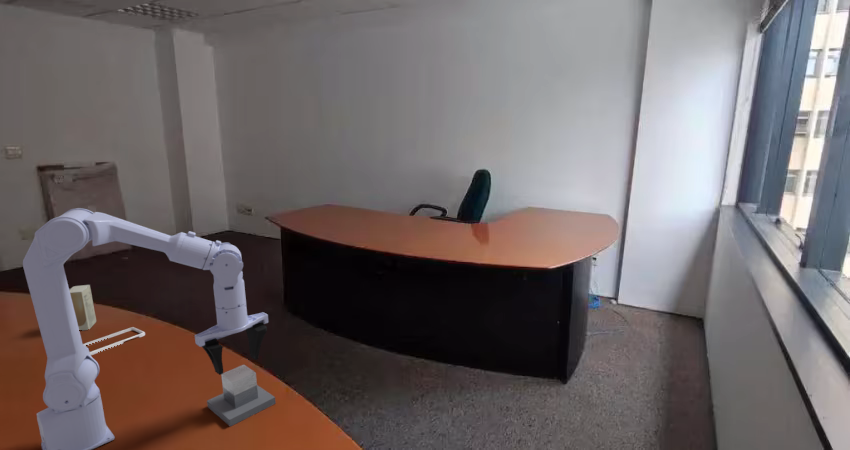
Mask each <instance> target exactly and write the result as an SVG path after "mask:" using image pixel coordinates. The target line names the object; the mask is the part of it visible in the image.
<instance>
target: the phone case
mask: <svg viewBox="0 0 850 450" xmlns="http://www.w3.org/2000/svg"><path fill="white" fill-rule="evenodd" d="M130 331H134V332H136V333H138V334H136V335H133V336H130V337H128V338H125V339H122V340H119V341H116V342H114V343H111V344H109V345H105V346H103V347H100V348H97V349H95V350H92V351H89V352H90V355H91V356H93V355H96V354H99V353H100V351H101V352H103V350H104V351H106V350H105V349H107V350H109V349H108V348H110V349H112V348H114V346H115V347H117V345H118V346H119V345H120V344H121V345H123V344H124V342H126V341H129V340H131V339H135V338H142V337H145V336H146V332H145V331H143V330H141V329H139V328H136V327H134V326H132V327H129V328H126V329H123V330H119V331H116V332H113V333H111V334H109V335H108V334H107V335H105V336H102V337H99V338H97V339H94V340H90V341H88V342H85V343H82V344H83V345H84V346H86V345H88V346H90V345H89V344H91V345H93V344H92V343H94V344H96V343H95V342H97V343H99V342H102V341H105V340H107V338H108V339H111V338H113V337H116V336H119V335H122V334H125V333H127V332H128V333H129V332H130ZM104 339H105V340H104ZM101 340H102V341H101ZM98 341H99V342H98ZM86 347H87V346H86ZM111 347H112V348H111ZM98 352H99V353H98Z"/></svg>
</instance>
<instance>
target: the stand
mask: <svg viewBox="0 0 850 450" xmlns="http://www.w3.org/2000/svg"><path fill="white" fill-rule="evenodd" d="M257 390H258V398H257V399H255V400H253V401H251V402H249V403H247V404H245V405H243V406H240V407H238V408H236V409H235V408H234V407H233V406H231V405H230V404H229V403H228V402H226V401H225V400H224V394H223V393H221V394H218V395H216V396H214V397H212V398H209V399H208V400H206V406H207V408H208V409H210V410H211V412H213V413H214V414H215V415H216V416H217V417H218V418H220V419H221V420H222V422H224V423H225V424H227V425H228V426H229V427H232V426H234V425H236V424H238V423H240V422H243V421H244V420H246V419H248V418H250V417H252V416H254V415H256V414H257V413H259V412H262V411H264V410H265V409H267V408H269V407H271V406H273V405H276V404H277V403H276V397H275V396H274V395H273V394H271V393H270V392H268V391H267V390H265V389H264V388H263V387H261V386H259V385H258V384H257Z"/></svg>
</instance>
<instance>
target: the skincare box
mask: <svg viewBox="0 0 850 450" xmlns="http://www.w3.org/2000/svg"><path fill="white" fill-rule="evenodd" d="M69 291H70V295H71V299H72V303H73V307H74V311H75V315H76V319H77V323H78V327H79V330H82V331H88V329H89V330H90V329H91V328H92V327H93V326H94V325H95V324H96V323H97V317H96V312H95V307H94V301H93V295H92V289H91V284H84V285H75V286H72V287H71V288H69Z"/></svg>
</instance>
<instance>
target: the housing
mask: <svg viewBox="0 0 850 450" xmlns="http://www.w3.org/2000/svg"><path fill="white" fill-rule="evenodd" d="M220 377H221V383H222V394H224V400H225V401H226V402H228V403H229V404H230V405H231V406H233V407H234V408H235V409H236V408H238V407H240V406H243V405H245V404H247V403H249V402H251V401H253V400H255V399H257V398H258V390H257V385H258V383H257V382H258V381H257V373H256V372H255V370H254V369H251V368H250V367H249V366H247V365H245V364H241V365H239V366H237V367H235V368H233V369H230V370H228V371H225V372H223V374H221V376H220Z"/></svg>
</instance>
